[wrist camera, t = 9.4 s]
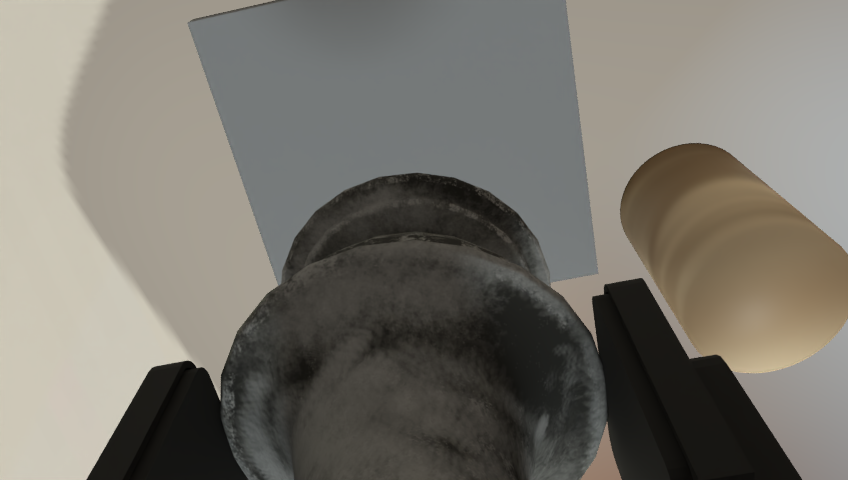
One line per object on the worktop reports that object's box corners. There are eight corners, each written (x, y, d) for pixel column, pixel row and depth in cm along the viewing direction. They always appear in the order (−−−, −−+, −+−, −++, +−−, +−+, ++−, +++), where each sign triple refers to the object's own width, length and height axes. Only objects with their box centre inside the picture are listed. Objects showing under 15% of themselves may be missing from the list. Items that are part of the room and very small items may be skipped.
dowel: (614, 157, 22) (680, 246, 16) (749, 131, 21) (861, 212, 16) (625, 271, 23) (688, 385, 18) (750, 248, 23) (852, 357, 18)
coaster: (193, 19, 20) (187, 22, 19) (553, -63, 19) (558, -62, 18) (296, 320, 24) (293, 330, 23) (593, 264, 23) (598, 273, 23)
